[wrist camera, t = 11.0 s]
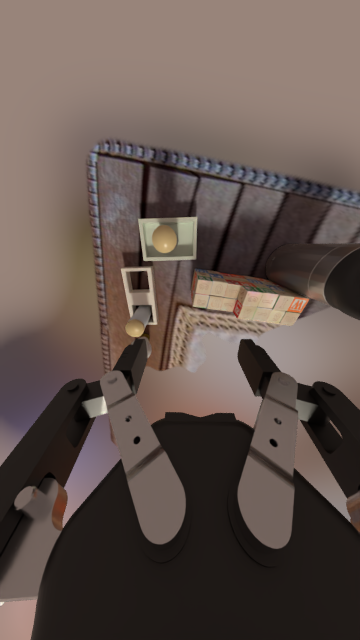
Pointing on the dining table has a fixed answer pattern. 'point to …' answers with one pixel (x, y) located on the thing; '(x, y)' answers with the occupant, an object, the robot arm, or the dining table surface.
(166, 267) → the dining table surface
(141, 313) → the fuse
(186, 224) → the parts tray
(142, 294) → the tray
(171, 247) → the cylinder
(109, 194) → the dining table surface
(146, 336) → the light bulb
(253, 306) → the stack of blocks
